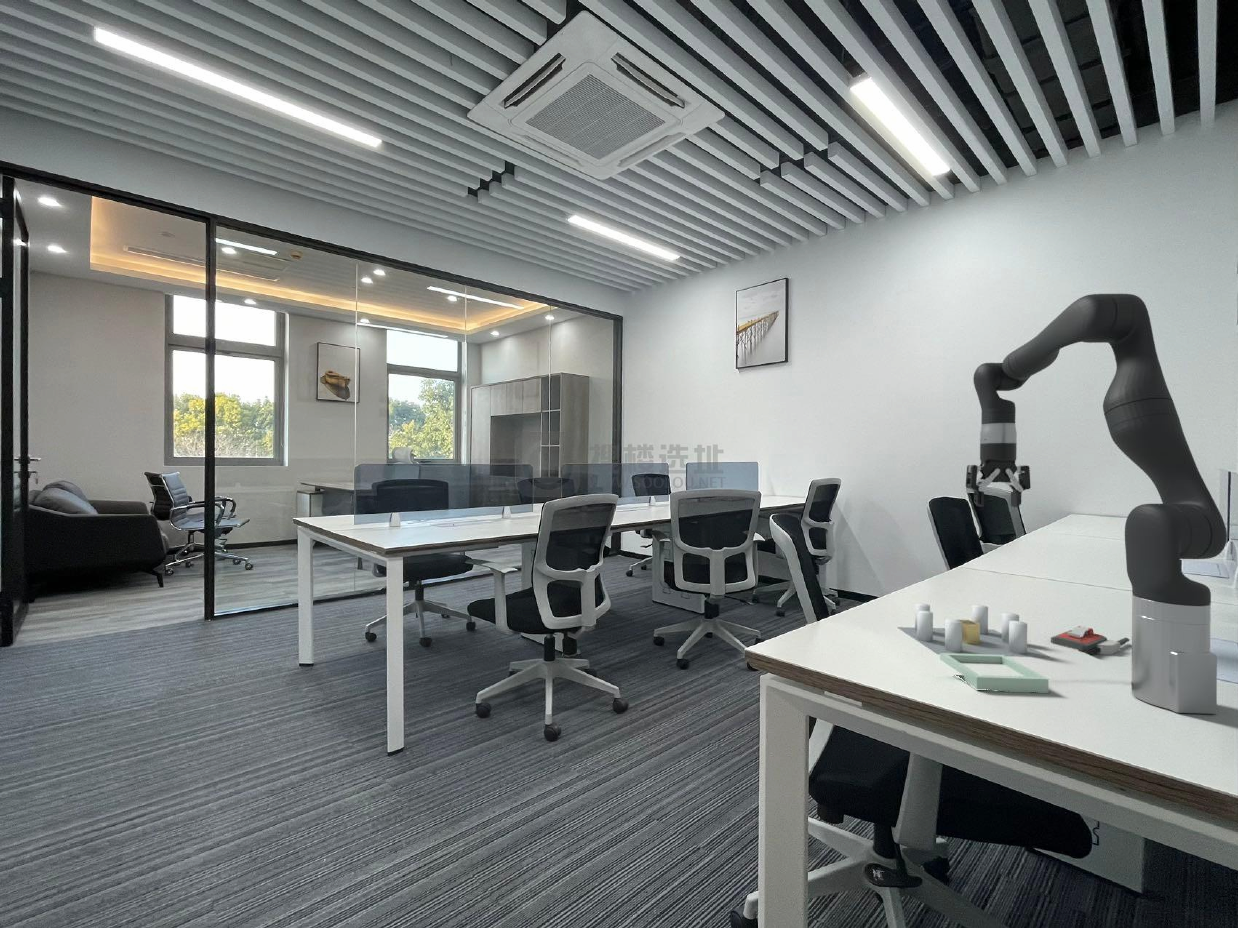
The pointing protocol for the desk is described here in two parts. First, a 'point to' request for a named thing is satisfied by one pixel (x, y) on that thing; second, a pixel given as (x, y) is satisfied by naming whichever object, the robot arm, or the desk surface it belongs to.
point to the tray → (1000, 683)
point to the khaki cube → (970, 632)
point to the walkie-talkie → (1088, 641)
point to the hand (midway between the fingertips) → (997, 506)
